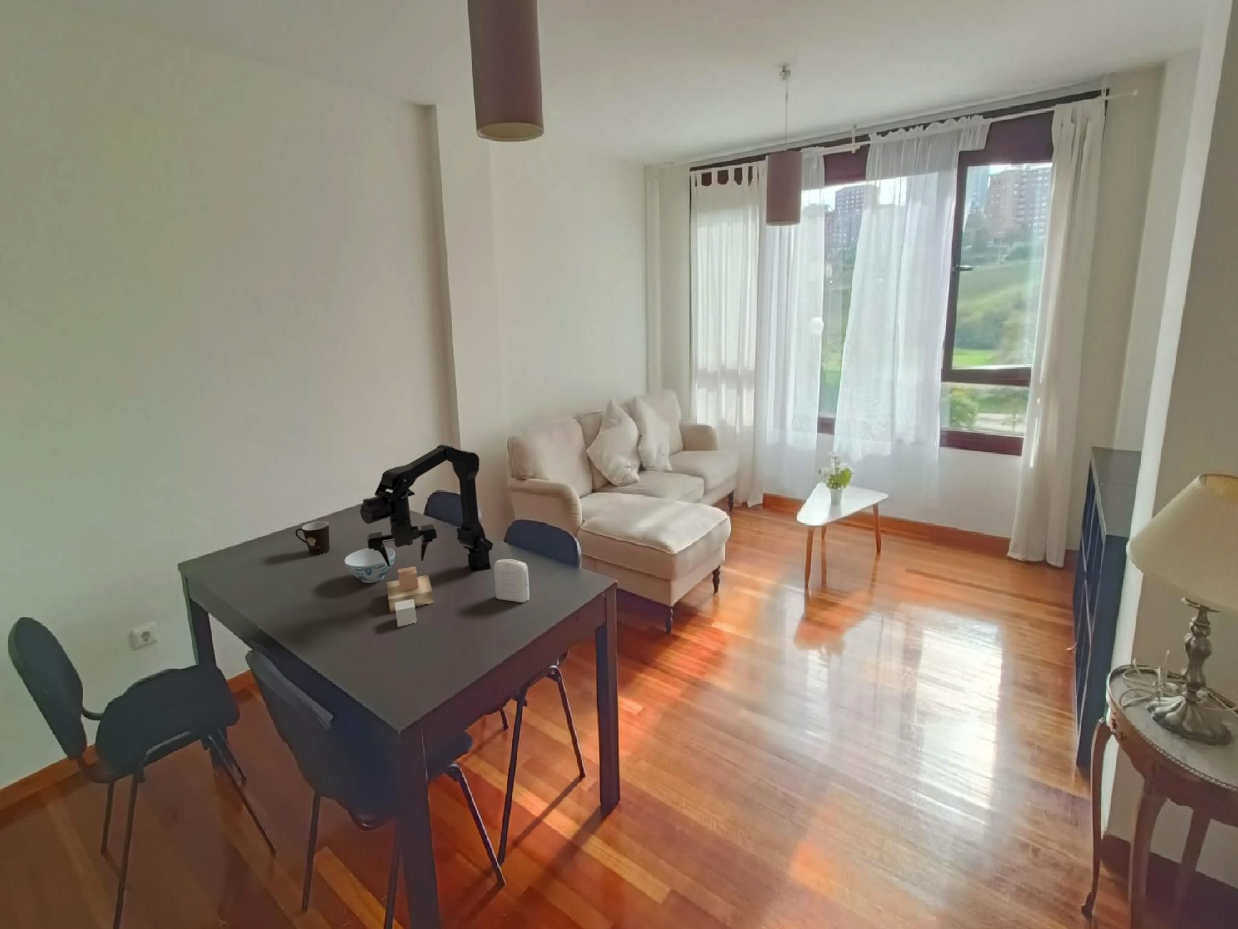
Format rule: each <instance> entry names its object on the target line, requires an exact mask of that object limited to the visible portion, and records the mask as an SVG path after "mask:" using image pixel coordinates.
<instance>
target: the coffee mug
mask: <svg viewBox="0 0 1238 929" xmlns="http://www.w3.org/2000/svg"><path fill="white" fill-rule="evenodd" d="M298 531H302V533H303V536H304V539H303V538H301V536H300V535H299V534H298ZM294 534H295V536H296V537H297V538H298V539H299V540H300V541H302V542H303V543H305V544H306V546H307V549H308V552H309V555H310V554H311V555H310V556H314V555H316V556H321V555H320V554H322V555H324V554H323V553H325V554H327V553H329V552H330V550H329V549H330V523H329V522H328V521H325V520H322V521H313V522H309V523H306V524H304V525H303V526H302V527H301V528H297V529H295V532H294ZM328 551H329V552H328Z"/></svg>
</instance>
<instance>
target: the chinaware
mask: <svg viewBox="0 0 1238 929" xmlns="http://www.w3.org/2000/svg"><path fill="white" fill-rule="evenodd" d="M385 547H386V551H387V554H388V558H389V563H390V567H388V565H387V563H386V561H385V560H384V558H383V556H382V555H381V553H380V552H379V551H374V549H368V547H367V548H363V549H360V550H359V549H358V550H357V551H353V552H352V553H350V554H349V555H347V556H346V557H345V559H344V562H343V563H344V565H345V566H346V569H347V570H348V572H349V573H350V574H351V575H352V576H354V577H355V578H357V579H360V580H361V582H363V583H366V584H371V583H373V582H374V583H377V582H380V581H382V580H383V579H384V578H385V575H387V573H389V571H390V570H391V568H392V567H393V565H394V562H395V559H396V558H395V557H396V552H395V550H394V549H393V548H390V547H387V546H385ZM379 580H380V581H379ZM374 583H373V584H374Z"/></svg>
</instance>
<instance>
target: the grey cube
mask: <svg viewBox="0 0 1238 929" xmlns="http://www.w3.org/2000/svg"><path fill="white" fill-rule="evenodd" d="M395 609H396V611H395V614H396V616H395V617H396V623H397V628H399V627H404V626H408V624H409V625H413V624H412V623H414V624H417V623H418V620H417V613H416V607H415V604H414V599H410V600H405V601H400V602H395ZM416 622H417V623H416Z"/></svg>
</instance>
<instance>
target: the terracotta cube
mask: <svg viewBox="0 0 1238 929" xmlns="http://www.w3.org/2000/svg"><path fill="white" fill-rule="evenodd" d="M397 573H398V580H399V582H400V589H401V592H403V591H408V590H413V589H419V586H418V578H417V577H418V573H417V567H416V566H409V567H403V568H398V569H397Z"/></svg>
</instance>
